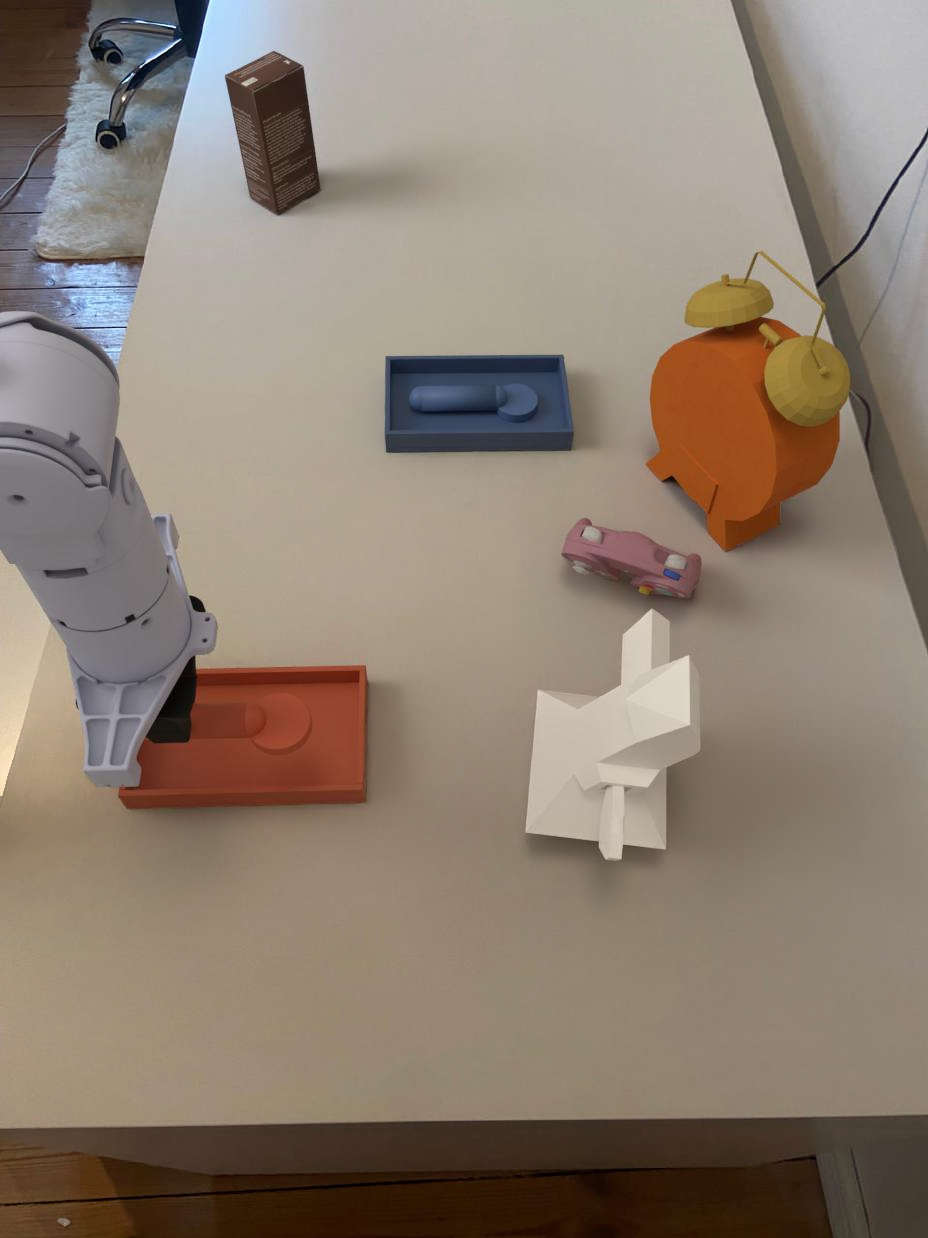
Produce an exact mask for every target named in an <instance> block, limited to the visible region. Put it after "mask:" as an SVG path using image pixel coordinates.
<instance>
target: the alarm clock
mask: <svg viewBox="0 0 928 1238" xmlns="http://www.w3.org/2000/svg"><path fill="white" fill-rule="evenodd" d="M758 255H760V256H762V258H764V259H765V260H766V261H767V262H769V263H770V264H771V265H772V266H773V267H774V268H776V269H777V270H778V271H779V272H780V273H782V274H783V275H784V276H785V277H786V278H787V279H789V280H790V281H791V282H792V283H793V284H795V286H796V287H798V288H799V289H800V290H801V291H803V292H804V293H805V294H806V295H807V296H809V297H810V298H811V299H812V300H813V301H815V302H816V303H817V304H818V305H819V306H820V308H821V312H820V315H819V318H818V321H817V324H816V326H815V330H814V333H813V335H808V334H807V335H802V334H800V333H799V332H797V331H796V330H794V329H793V328H791V327H790V326H788V325H787V324H785V323H783V322H782V321H780V320H779V319H774V318H771V317H764V316H765V315H767V314H769V313H770V312H771V311H772V310H773V309H774V307H775V302H774V299H773V297H772V294H771V291H770V289H769V288H768V287H767V286H766V285H765V284H764V283H762V282H761V281H760V280H756V279H751V278H750V275H751V273H752V271H753V268H754V266H755V263H756V261H757V259H758ZM720 278H721V279H720V280H718V281H715V282H712V283H710V284H707V285H705V286H703V287H702V288H700V289H698V290H695V292H694V293H693V294H691V296H690V298H689V300H688V301H687V303H686V305H685V312H684V320H683V321H684V323H685V324H686V325H687V326H689V327H693V328H701V329H706V330H705V331H703V332H700V333H698V334H695V335H693V336H690V337H688V338H686V339H683V340H681V341H679V342H677V343H674V344H672V346H670V347H669V348H668V349H667V350H666V351H665V352H664V353H663V354H662V355H660V357H659V359H658V361H657V363H656V366H655V368H654V371H653V373H652V375H651V384H650V392H649V405H650V414H651V424H652V428H653V431H654V435H655V439H656V442H657V445H658V448H659V451H658V452H657V453H656V454H654V456H652V457H651V458H650V459H649V460H648V461H647V462H646V463H645V465H646V467H647V468H648V469H649V470H650V471H651V472H652V473H653V474H654V475H655V476H656V478H657V479H658V480H659V481H660V482H663V481H665V480H668V479H669V478H671V477H673V478H674V480H676V482H677V483H678V484H679V486H680V488H682V489H683V491H684V492H685V494H686V495H687V496H688V497H689V498H690V499H691V500H692V501H694V502H695V503H696V504H697V505H698V506H699V507H700V508H701V509H702V510H703V511H704V512H705V517H706V526H707V533H708V535H709V536H710V537H711V539H713V540H714V541H715V543H717V544H718V545H719V547H720V548H721V549H722V550H723V551H724V552H726V553H727V552H728V551H730V550H733V549H735V548H737V547H738V546H741V545H742V544H744V543H747V542H749V541H751V540H752V539H754V538H757V537H758V536H759V535H762V534H764V533H766V532H768V531H770V530H773V529H774V528H776V527H778V526H780V525H781V503H783V502H785V501H787V500H788V499H791V498H793V497H795V496H796V495H798V494H801V493H803V492H804V491H805V492H806V491H807V490H809V489H811V488H813V487H815V486H817V485H818V484H819V483H820V482H821V480H822V479H823V478H824V476H825V475H826V474H827V472H829V470H830V469H831V467H832V465H833V464H834V461H835V457H836V455H837V452H838V447H839V444H840V441H841V412H840V411H841V410H842V409H843V407H844V405H846V402H847V401H848V398H849V395H850V390H851V371H850V369H849V365H848V362H847V360H846V359H845V357H844V355H843V354H842V352H841V351H840V350H839V349H838V348H837V347H835V345H834V344H832V343H831V342H829V341H827V340H825V339H824V338H822V337H819V336H818V334H819V331H820V328H821V325H822V322H823V319H824V317H825V314H826V311H827V308H826V307H827V306H826V304H825V302H823V301H822V300H821V299H820V298H819V297H817V296H816V295H815V294H814V293H813V292H812V291H810V290H809V289H808V288H807V287H806V286H805V285H803V284H802V283H801V282H800V281H799V280H798V279H796V278H795V277H794V276H793V275H791V274H790V273H789V272H788V271H787V270H786V269H784V268H783V267H782V266H781V265H780V264H778V263H777V262H776V260H774V259H772V257H770V256H769V255H768V254H766V252H764V251H763V250H759V251H756V252H755V253H754V254H753V256H752V259H751V262H750V264H749V267H748V269H747V272H746V275H745V277H744V278H743V277H738V278H730V274H729V273H723V274H721V275H720Z"/></svg>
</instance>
